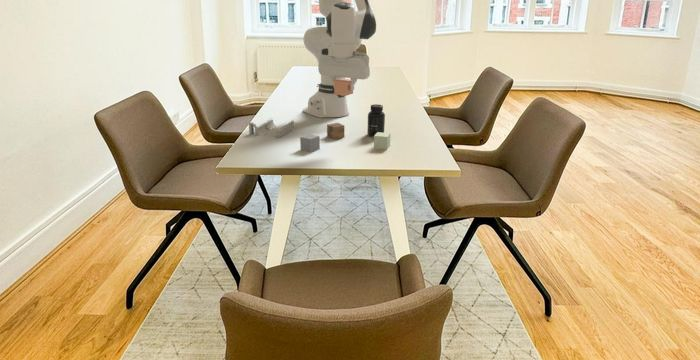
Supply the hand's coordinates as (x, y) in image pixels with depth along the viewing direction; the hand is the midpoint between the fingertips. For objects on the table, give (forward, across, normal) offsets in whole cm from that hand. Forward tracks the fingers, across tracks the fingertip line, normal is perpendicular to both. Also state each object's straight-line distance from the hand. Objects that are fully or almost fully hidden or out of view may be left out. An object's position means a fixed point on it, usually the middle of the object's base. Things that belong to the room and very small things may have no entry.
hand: (343, 89), depth 195 cm
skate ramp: (+22, +35, +1) cm, 41 cm away
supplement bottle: (+21, -4, -18) cm, 28 cm away
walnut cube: (+21, +8, -6) cm, 24 cm away
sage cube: (+21, -14, -4) cm, 26 cm away
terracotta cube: (+2, 0, 0) cm, 2 cm away
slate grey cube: (+21, +7, +12) cm, 25 cm away
